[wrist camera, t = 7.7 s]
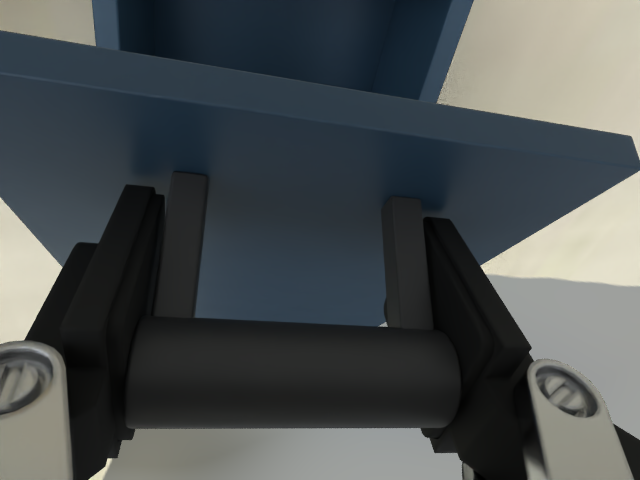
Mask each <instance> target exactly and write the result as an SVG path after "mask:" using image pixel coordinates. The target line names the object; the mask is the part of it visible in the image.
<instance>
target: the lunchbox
mask: <svg viewBox="0 0 640 480" xmlns="http://www.w3.org/2000/svg"><path fill="white" fill-rule="evenodd" d="M473 1H474V0H92V8H93V19H94V30H95V40H96V46H97V47H103V48H109V49H115V50H120V51H126V52H132V53H138V54H144V55H150V56H156V57H162V58H168V59H174V60H180V61H186V62H192V63H198V64H204V65H210V66H216V67H222V68H228V69H234V70H240V71H246V72H252V73H258V74H264V75H270V76H276V77H282V78H288V79H294V80H300V81H306V82H311V83H317V84H323V85H329V86H335V87H341V88H347V89H353V90H359V91H365V92H371V93H377V94H383V95H389V96H395V97H401V98H407V99H413V100H419V101H425V102H431V103H436V102H437V100H438V97H439V94H440V91H441V89H442V86H443V83H444V80H445V78H446V75H447V72H448V70H449V67H450V64H451V61H452V59H453V56H454V53H455V50H456V48H457V45H458V42H459V39H460V37H461V34H462V31H463V28H464V26H465V23H466V20H467V17H468V15H469V12H470V9H471V6H472V4H473Z"/></svg>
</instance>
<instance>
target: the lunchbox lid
mask: <svg viewBox="0 0 640 480" xmlns="http://www.w3.org/2000/svg"><path fill="white" fill-rule="evenodd" d="M638 171H640V160H639V157H638V154H637V151H636V148H635V145H634V142H633V139H632V137H631V136H628V135H622V134H616V133H610V132H604V131H598V130H592V129H586V128H580V127H574V126H568V125H562V124H556V123H550V122H544V121H538V120H532V119H526V118H520V117H514V116H508V115H502V114H497V113H491V112H485V111H479V110H473V109H467V108H461V107H455V106H449V105H443V104H437V103H431V102H425V101H419V100H413V99H407V98H401V97H395V96H389V95H383V94H377V93H371V92H365V91H359V90H353V89H347V88H341V87H335V86H329V85H323V84H317V83H311V82H306V81H300V80H294V79H288V78H282V77H276V76H270V75H264V74H258V73H252V72H246V71H240V70H234V69H228V68H222V67H216V66H210V65H204V64H198V63H192V62H186V61H180V60H174V59H168V58H162V57H156V56H150V55H144V54H138V53H132V52H126V51H120V50H115V49H109V48H103V47H97V46H91V45H85V44H79V43H73V42H67V41H61V40H55V39H49V38H43V37H37V36H31V35H25V34H19V33H13V32H7V31H1V30H0V197H1V198H2V200H3V201H4V202H5V203H6V204H7V205H8V206H9V207H10V209H11V210H12V211H13V212H14V213H15V214H16V215H17V216H18V218H19V219H20V220H21V221H22V222H23V223H24V224H25V225H26V227H27V228H28V229H29V230H30V231H31V232H32V233H33V234H34V236H35V237H36V238H37V239H38V240H39V241H40V242H41V243H42V245H43V246H44V247H45V248H46V249H47V250H48V251H49V252H50V254H51V255H52V256H53V257H54V258H55V259H56V260H57V261H58V263H59V264H60V265H61V266H62V267H63V266H64V264H65V262H66V260H67V259H68V257H69V255H70V253H71V251H72V249H73V248H74V246H75V245H76V243H78V242H88V243H99V241H100V239H101V237H102V235H103V232H104V230H105V228H106V226H107V224H108V222H109V219H110V217H111V215H112V213H113V211H114V209H115V206H116V204H117V202H118V200H119V198H120V196H121V193H122V191H123V189H124V187H125V185H126V184H130V185H139V186H149V187H154V188H155V191H156V194H160V195H164V196H165V222H164V229H163V235H162V242H161V249H160V255H159V262H158V269H157V276H156V282H155V289H154V296H153V302H152V309H151V315H145V316H142V317H141V318H140V320H139V322H138V324H137V326H136V329H135V332H134V335H133V339H132V343H131V347H130V352H129V357H128V363H127V369H126V377H125V385H124V398H123V412H124V420H125V424H126V426H127V427H128V428H131V429H180V428H181V429H196V428H197V429H202V428H203V429H205V428H206V429H207V428H208V429H212V428H214V429H215V428H442V427H445V426H447V425H449V424H450V423H451V422H452V421H453V420H454V418H455V416H456V414H457V412H458V409H459V405H460V400H461V393H462V377H461V368H460V363H459V358H458V355H457V352H456V350H455V347H454V345H453V343H452V342H451V340H450V339H449V337H448V336H447V335H446V334H445V333H443V332H441V331H439V330H436V329H434V323H433V314H432V304H431V294H430V285H429V275H428V265H427V256H426V246H425V237H424V227H423V219H424V217H427V216H428V217H437V218H446V219H450V220H451V221H452V223H453V224H454V226H455V227H456V229H457V230H458V232H459V234H460V235H461V237H462V238H463V240H464V242H465V243H466V245H467V246H468V248H469V249H470V251H471V253H472V254H473V256H474V257H475V259H476V260H477V262H478V264H479V265H482V264H484V263H485V262H487V261H489V260H490V259H492V258H494V257H495V256H497V255H499V254H500V253H502V252H504V251H506V250H507V249H509V248H511V247H512V246H514V245H516V244H517V243H519V242H521V241H522V240H524V239H526V238H527V237H529V236H531V235H532V234H534V233H536V232H537V231H539V230H541V229H542V228H544V227H546V226H548V225H549V224H551V223H553V222H554V221H556V220H558V219H559V218H561V217H563V216H564V215H566V214H568V213H569V212H571V211H573V210H574V209H576V208H578V207H579V206H581V205H583V204H584V203H586V202H588V201H590V200H591V199H593V198H595V197H596V196H598V195H600V194H601V193H603V192H605V191H606V190H608V189H610V188H611V187H613V186H615V185H616V184H618V183H620V182H621V181H623V180H625V179H626V178H628V177H630V176H632V175H633V174H635V173H637V172H638ZM385 299H387V315H388V327H378V326H379V325H381V324H383V323H384V322H386V319H385V316H384V302H385Z"/></svg>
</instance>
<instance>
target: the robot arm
mask: <svg viewBox="0 0 640 480" xmlns="http://www.w3.org/2000/svg"><path fill="white" fill-rule="evenodd" d="M164 222H165V196H164V195H160V194H156V191H155V188H154V187H149V186H139V185H130V184H126V185H125V187H124V189H123V191H122V193H121V196H120V198H119V200H118V202H117V204H116V206H115V209H114V211H113V213H112V215H111V217H110V219H109V222H108V224H107V226H106V228H105V230H104V232H103V235H102V237H101V239H100V241H99V243H88V242H78V243H76V245H75V246H74V248H73V249H72V251H71V253H70V255H69V257H68V259H67V260H66V262H65V264H64V266H63V268H62V270H61V272H60V274H59V276H58V277H57V279H56V281H55V283H54V285H53V287H52V289H51V291H50V293H49V295H48V296H47V298H46V300H45V302H44V304H43V306H42V308H41V310H40V312H39V313H38V315H37V317H36V319H35V321H34V323H33V325H32V327H31V329H30V330H29V332H28V334H27V336H26V338H25V340H24V341H13V342H7V343H3V344H0V480H88V479H90V478H91V477H92V476H94V475H95V474H96V473H97V472H99V471H100V470H101V469H103V468H104V467H105V465H106V462H107V458H118V454H119V450H120V445H121V442H122V440H132V438H133V436H134V432H135V429H131V428H128V427H127V426H126V424H125V420H124V412H123V398H124V385H125V377H126V369H127V363H128V357H129V352H130V347H131V343H132V339H133V335H134V332H135V329H136V326H137V324H138V322H139V320H140V318H141V317H142V316H145V315H151V309H152V302H153V296H154V289H155V282H156V276H157V269H158V262H159V255H160V249H161V242H162V235H163V229H164ZM423 227H424V237H425V246H426V256H427V265H428V275H429V285H430V294H431V304H432V314H433V323H434V329H436V330H439V331H441V332H443V333H445V334H446V335H447V336H448V337H449V339H450V340H451V342H452V343H453V345H454V347H455V350H456V352H457V355H458V358H459V363H460V368H461V377H462V393H461V400H460V405H459V409H458V412H457V414H456V416H455V418H454V420H453V421H452V422H451V423H450V424H449V425H447V426H445V427H442V428H421V431H422V433H423V435H424V436H425V437H427V438H430V441H431V444H432V447H433V450H434V452H435V453H458V456H459V458H460V460H461V461H463V462H462V477H463V480H640V440H639V439H637V438H635V437H634V436H632V435H631V434H629V433H627V432H626V431H624V430H623V429H621V428H619V427H618V426H616V425H615V424H613V423H612V420H611V417H610V414H609V412H608V409H607V407H606V404H605V401H604V400H603V398H602V396H601V394H600V392H599V391H598V390H597V388H596V387H595V386H594V385H593V384H592V383H591V381H590V380H588V379H587V378H586V377H585V376H584V375H583V374H581V373H580V372H578V371H577V370H575V369H574V368H572V367H570V366H569V365H566V364H564V363H561V362H559V361H556V360H550V359H538V360H536V361H533V359H532V357H531V356H530V354H529V351H530V350H531V346H530V344H529V342H528V341H527V339H526V338H525V336H524V335H523V333H522V331H521V330H520V328H519V327H518V325H517V324H516V322H515V320H514V319H513V317H512V316H511V314H510V313H509V311H508V309H507V308H506V306H505V305H504V303H503V301H502V300H501V299H500V297H499V295H498V294H497V292H496V290H495V289H494V288H493V286H492V284H491V283H490V281H489V279H488V278H487V276H486V275H485V273H484V271H483V270H482V268H481V267H480V265H479V264H478V262H477V260H476V259H475V257H474V256H473V254H472V253H471V251H470V249H469V248H468V246H467V245H466V243H465V242H464V240H463V238H462V237H461V235H460V234H459V232H458V230H457V229H456V227H455V226H454V224H453V223H452V221H451V220H450V219H446V218H437V217H428V216H427V217H424V219H423ZM384 316H385V319H386V322H387V325H388V315H387V299H385V302H384Z"/></svg>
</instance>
